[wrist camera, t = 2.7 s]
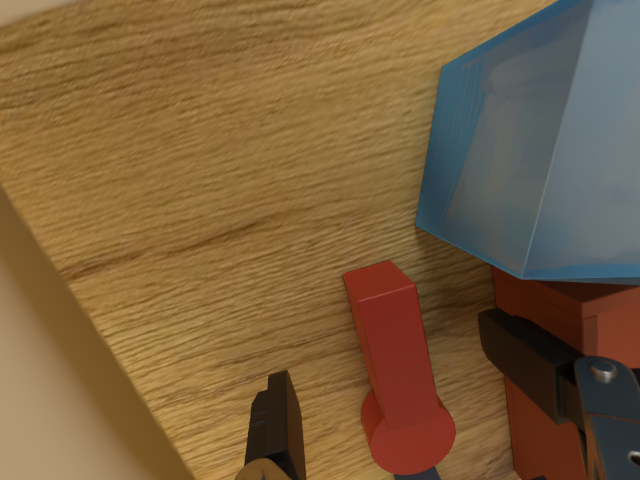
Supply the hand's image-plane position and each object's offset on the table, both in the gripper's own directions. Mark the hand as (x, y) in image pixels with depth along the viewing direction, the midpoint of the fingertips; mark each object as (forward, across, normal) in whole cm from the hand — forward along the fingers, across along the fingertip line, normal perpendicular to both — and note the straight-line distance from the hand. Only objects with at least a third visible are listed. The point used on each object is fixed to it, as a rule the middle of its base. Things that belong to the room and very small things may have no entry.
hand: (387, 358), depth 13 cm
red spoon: (+2, 0, +2) cm, 3 cm away
